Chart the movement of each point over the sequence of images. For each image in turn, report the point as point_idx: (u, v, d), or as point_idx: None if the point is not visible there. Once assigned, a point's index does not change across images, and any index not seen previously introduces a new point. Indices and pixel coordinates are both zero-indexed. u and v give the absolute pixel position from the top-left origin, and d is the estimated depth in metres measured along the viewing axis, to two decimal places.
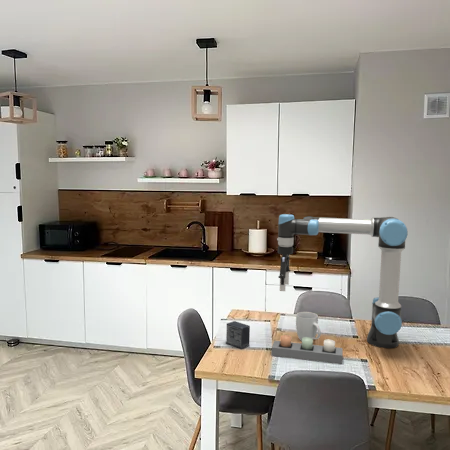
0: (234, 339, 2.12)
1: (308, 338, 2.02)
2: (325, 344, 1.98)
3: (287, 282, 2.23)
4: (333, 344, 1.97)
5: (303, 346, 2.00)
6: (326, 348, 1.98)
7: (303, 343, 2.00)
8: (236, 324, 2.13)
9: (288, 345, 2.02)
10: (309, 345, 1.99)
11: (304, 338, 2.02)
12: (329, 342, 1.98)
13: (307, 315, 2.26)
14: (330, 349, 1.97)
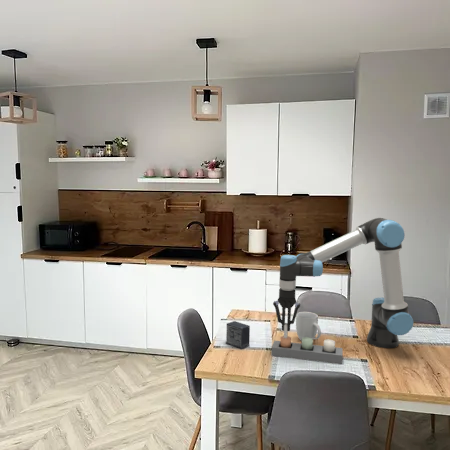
0: (234, 339, 2.12)
1: (308, 338, 2.02)
2: (325, 344, 1.98)
3: None
4: (333, 344, 1.97)
5: (303, 346, 2.00)
6: (326, 348, 1.98)
7: (303, 343, 2.00)
8: (236, 324, 2.13)
9: (288, 346, 2.02)
10: (309, 345, 1.99)
11: (304, 338, 2.02)
12: (329, 342, 1.98)
13: (307, 315, 2.26)
14: (330, 349, 1.97)
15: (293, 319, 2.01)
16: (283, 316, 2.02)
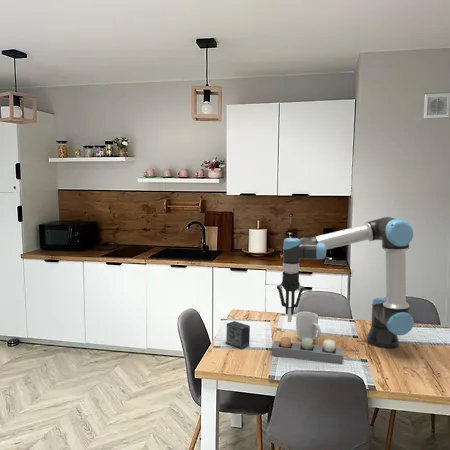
0: (234, 339, 2.12)
1: (308, 338, 2.02)
2: (325, 344, 1.98)
3: None
4: (333, 344, 1.97)
5: (303, 346, 2.00)
6: (326, 348, 1.98)
7: (303, 343, 2.00)
8: (236, 324, 2.13)
9: (288, 347, 2.02)
10: (309, 345, 1.99)
11: (304, 338, 2.02)
12: (329, 342, 1.98)
13: (307, 315, 2.26)
14: (330, 349, 1.97)
15: (297, 302, 2.00)
16: (287, 299, 2.01)
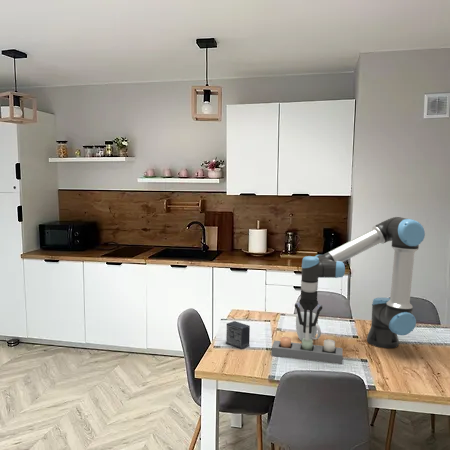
0: (234, 339, 2.12)
1: None
2: (325, 344, 1.98)
3: None
4: (333, 344, 1.97)
5: (303, 347, 2.01)
6: (326, 348, 1.98)
7: (303, 344, 2.00)
8: (236, 324, 2.13)
9: (288, 347, 2.02)
10: (309, 346, 1.99)
11: (304, 339, 2.02)
12: (329, 342, 1.98)
13: (307, 315, 2.26)
14: (330, 349, 1.97)
15: (315, 321, 1.99)
16: (305, 318, 2.00)
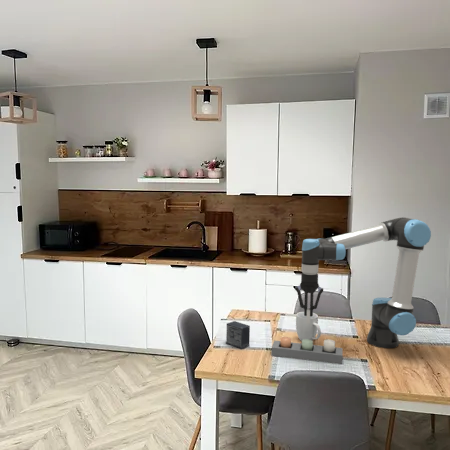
0: (234, 339, 2.12)
1: (308, 340, 2.02)
2: (325, 344, 1.98)
3: None
4: (333, 344, 1.97)
5: (303, 348, 2.01)
6: (326, 348, 1.98)
7: (303, 345, 2.00)
8: (236, 324, 2.13)
9: (288, 347, 2.02)
10: (309, 347, 2.00)
11: (304, 340, 2.02)
12: (329, 342, 1.98)
13: None
14: (330, 349, 1.97)
15: (316, 304, 1.98)
16: (306, 301, 1.99)
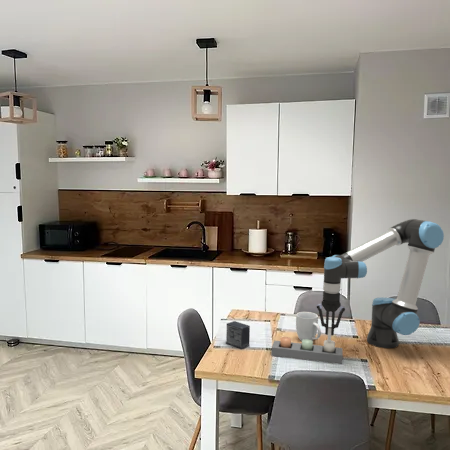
0: (234, 339, 2.12)
1: (308, 340, 2.02)
2: (325, 345, 1.98)
3: None
4: (333, 345, 1.97)
5: (303, 348, 2.01)
6: (326, 349, 1.98)
7: (303, 345, 2.00)
8: (236, 324, 2.13)
9: (288, 347, 2.02)
10: (309, 347, 2.00)
11: (304, 340, 2.02)
12: (329, 343, 1.98)
13: (307, 315, 2.26)
14: (330, 349, 1.97)
15: (337, 323, 1.96)
16: (327, 320, 1.97)
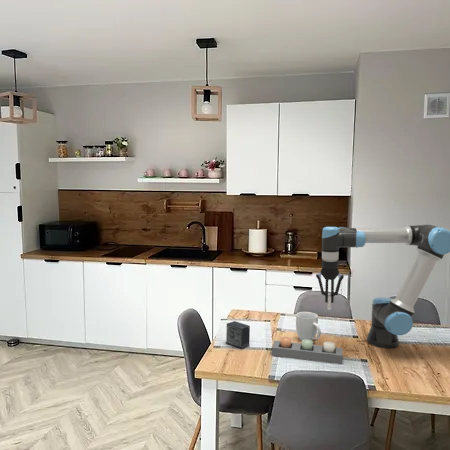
0: (234, 339, 2.12)
1: (308, 340, 2.02)
2: (325, 346, 1.98)
3: None
4: (333, 346, 1.97)
5: (303, 348, 2.01)
6: (326, 350, 1.98)
7: (303, 345, 2.00)
8: (236, 324, 2.13)
9: (288, 347, 2.02)
10: (309, 347, 2.00)
11: (304, 340, 2.02)
12: (329, 344, 1.98)
13: (307, 315, 2.26)
14: (330, 351, 1.97)
15: (337, 290, 2.01)
16: (327, 288, 2.02)
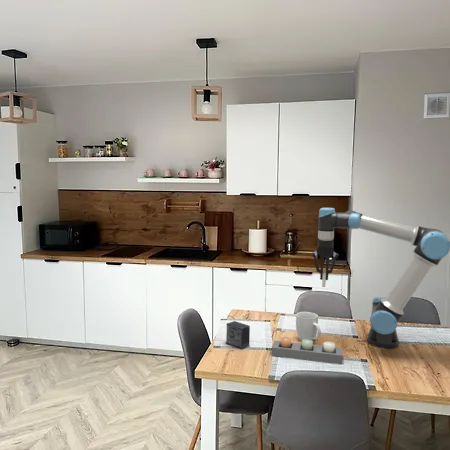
0: (234, 339, 2.12)
1: (308, 340, 2.02)
2: (325, 346, 1.98)
3: None
4: (333, 346, 1.97)
5: (303, 348, 2.01)
6: (326, 350, 1.98)
7: (303, 345, 2.00)
8: (236, 324, 2.13)
9: (288, 347, 2.02)
10: (309, 347, 2.00)
11: (304, 340, 2.02)
12: (329, 344, 1.98)
13: (307, 315, 2.26)
14: (330, 351, 1.97)
15: (331, 268, 2.12)
16: (322, 266, 2.13)
